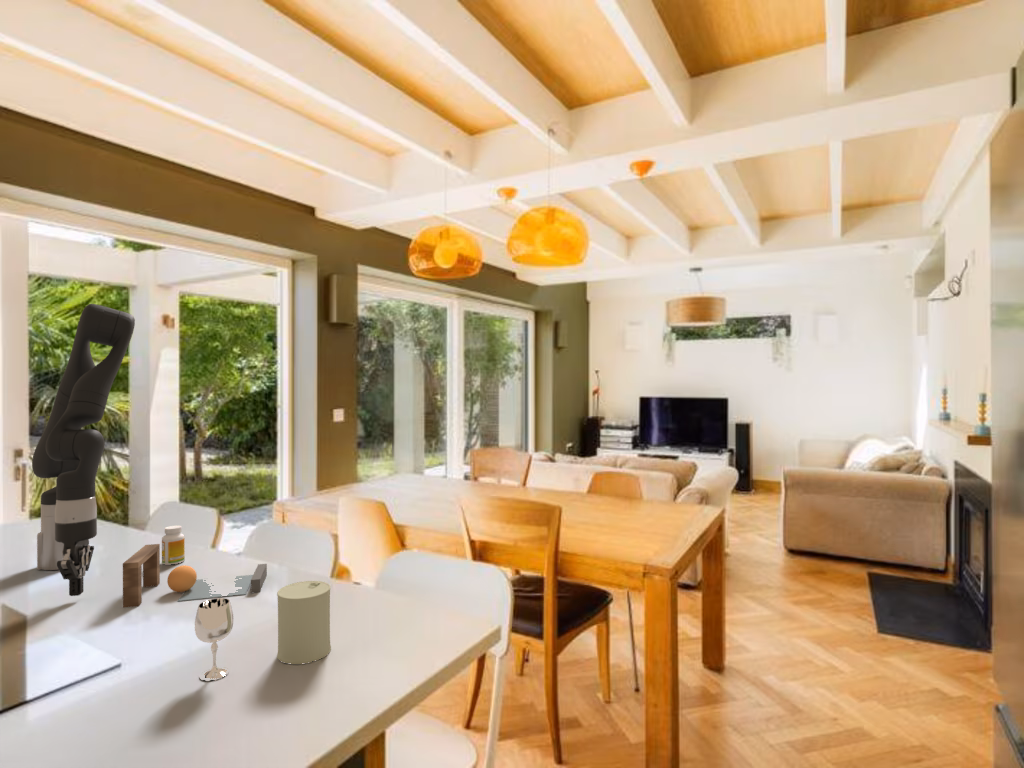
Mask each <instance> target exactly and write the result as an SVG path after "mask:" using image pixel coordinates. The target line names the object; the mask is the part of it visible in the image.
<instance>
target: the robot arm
mask: <svg viewBox="0 0 1024 768" xmlns="http://www.w3.org/2000/svg"><path fill="white" fill-rule="evenodd" d="M135 321H136V319H135V317H134V315H133V314H131V313H129V312H125V311H122V310H118V309H114V308H111V307H107V306H105V305H99V304H96V303H90V304H89V303H88V304H87V305H86V306H85V307H84V308H83V310H82V312H81V314H80V317H79V319H78V323H77V327H76V331H75V336H74V338H73V343H72V347H71V351H70V356H69V358H68V361H67V363H66V367H65V370H64V372H63V375H62V378H61V380H60V383H59V385H58V388H57V392H56V395H55V398H54V402H53V405H52V408H51V412H50V415H49V417H48V421H47V423H46V426H45V428H44V430H43V432H42V433H41V436H40V438H39V440H38V442H37V445H36V447H35V449H34V452H33V455H32V459H31V468H32V472H33V474H34V475H35V476H36V477H38V478H40V479H52V478H54V479H55V478H56V482H55V486H53V487H52V488H50V489H47V490H45V491H44V492H42V493H41V495H40V532H38V533H37V535H36V570H37V571H39V570H43V571H58V570H59V573H60V575H61V576H62V578H63V580H68V593H69V594H68V596H69V597H76V596H77V597H78V596H81V594H83V593H84V577H85V576H86V572H89V568H90V565H91V561H92V557H93V555H94V550H95V546H94V545H90V540H91V539H94V538H95V537H96V536H97V535H98V514H97V512H98V510H97V509H98V506H97V499H96V478H97V473H98V469H99V467H100V466H99V465H100V462H101V459H102V456H103V455H104V451H105V446H106V441H105V438H104V436H103V434H102V433H101V432H100V431H99V430H96V429H90V428H89V429H85V428H84V429H82V428H83V427H86V426H89V425H93V424H97V423H98V422H101V420H102V419H103V417H104V414H105V410H106V407H107V403H108V399H109V395H110V391H111V389H112V387H113V383H114V381H115V378H116V377H117V374H118V372H119V370H120V368H121V366H122V362H123V361H124V358H125V355H126V353H127V350H128V348H129V345H130V343H131V340H132V336H133V333H134V330H135V325H136V324H135ZM90 342H92V343H96V344H101V345H104V346H109V347H111V350H110V351H109V353H108V354H107V356H105V357H104V359H102V360H101V361H100V362H99V363H97V364H95V361H94V360H93V356H92V353H91V346H90V344H91V343H90Z"/></svg>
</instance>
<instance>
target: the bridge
mask: <svg viewBox="0 0 1024 768" xmlns="http://www.w3.org/2000/svg"><path fill="white" fill-rule="evenodd" d="M160 546H161V545H160V543H154V544H145V545H143V546H142V547H141V548H140V549H139V550H138V551H136V552H134V554H132V555H131V556H130V557H128V559H126V560H125V561H124V562H123V563H122V609H123V608H124V609H126V608H132V607H135V608H137V607H140V605H141V604H142V602H143V601H142V600H143V599H142V598H143V597H142V595H143V594H142V590H143V589H142V587H143V588H149V587H150V588H151V587H152V588H153V587H158V586H159V585H160V583H161V579H160V578H161V576H160V574H161V572H160V571H161V570H160V569H161V568H160V567H161V565H160V564H161V563H160V562H161V559H160V557H161V556H160V555H161V554H160V553H161V552H160V548H161V547H160Z"/></svg>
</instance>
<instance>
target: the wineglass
mask: <svg viewBox="0 0 1024 768" xmlns="http://www.w3.org/2000/svg"><path fill="white" fill-rule="evenodd" d="M232 608H233V607H232V605H231V602H230V599H228V598H226V597H218V598H210V599H206V600H205V601H203V602H200V603H199V604H198V607H197V610H196V615H195V618H194V632H195V635H196V638H197V639H198V640H199V641H201V642H203V643H207V644H208V643H209V644H211V646H210V651H211V654H212V667H211V668H210V669H211V670H210V669H208V670H209V671H207V670H206V671H207V672H206V673H205V674H204V675H205V678H210V679H211V678H212V679H213V678H214V679H215V678H216V679H217V678H221V677H224V676H225V677H227V676H226V675H225V674H226V671H227V670H225V669H222V668H219V667H217V652H218V650H219V649H218V648H219V646H218V643H217V642H220V641H222V640H224V639H226V638H227V637H228V636H229V635H230V634H231V632H232V631H233V627H234V612H233V609H232ZM225 677H224V678H225ZM221 679H222V678H221Z"/></svg>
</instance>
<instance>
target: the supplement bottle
mask: <svg viewBox="0 0 1024 768" xmlns="http://www.w3.org/2000/svg"><path fill="white" fill-rule="evenodd" d="M182 529H183V528H182V525H170V526H166V527H164V534H165V535H163V536H162V537H161V564H162V565H163V564H165V565H164V566H172V565H171V564H175V565H178V563H179V564H182V563H183V562H184V561H185V560H186V559H185V556H186V555H185V552H186V551H185V549H186V547H185V543H186V542H185V535H184V534H183V533H182ZM181 562H182V563H181Z"/></svg>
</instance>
